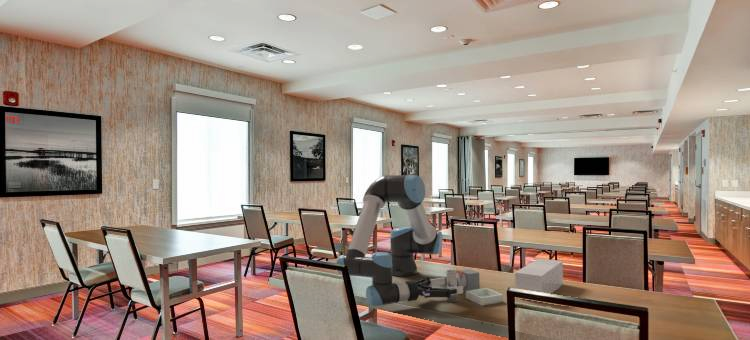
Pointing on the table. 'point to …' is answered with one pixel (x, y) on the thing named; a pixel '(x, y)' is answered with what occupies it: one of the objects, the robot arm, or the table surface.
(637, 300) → the table surface
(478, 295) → the parts tray
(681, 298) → the table surface
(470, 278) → the crank housing
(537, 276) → the light grey block
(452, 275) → the stop pin
